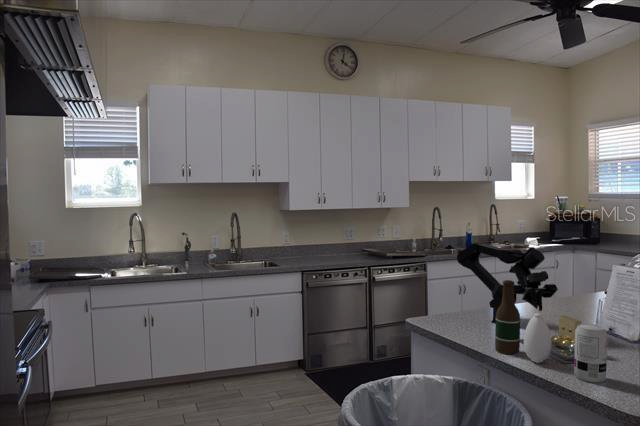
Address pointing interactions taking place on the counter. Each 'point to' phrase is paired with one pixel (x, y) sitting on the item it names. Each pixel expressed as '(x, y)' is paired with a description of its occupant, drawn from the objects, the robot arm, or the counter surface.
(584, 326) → the supplement can
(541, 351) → the sauce bottle
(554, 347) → the rubber mat
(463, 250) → the robot arm
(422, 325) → the counter surface
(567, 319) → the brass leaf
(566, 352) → the gunmetal leaf
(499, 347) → the beer bottle
